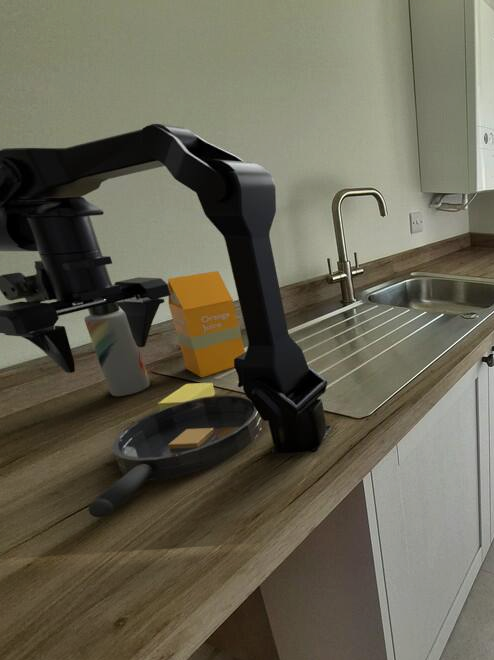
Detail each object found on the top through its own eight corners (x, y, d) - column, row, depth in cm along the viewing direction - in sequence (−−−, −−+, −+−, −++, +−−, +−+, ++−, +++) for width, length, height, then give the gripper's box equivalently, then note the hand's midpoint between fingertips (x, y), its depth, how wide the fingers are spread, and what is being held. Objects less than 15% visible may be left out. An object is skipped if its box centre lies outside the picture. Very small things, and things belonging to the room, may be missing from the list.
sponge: (190, 398, 75) (186, 383, 74) (216, 397, 75) (212, 382, 74) (162, 419, 68) (157, 403, 67) (190, 417, 68) (186, 402, 67)
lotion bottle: (146, 379, 82) (115, 282, 76) (153, 388, 78) (121, 287, 72) (108, 390, 78) (71, 288, 71) (113, 400, 74) (76, 293, 68)
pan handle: (159, 474, 53) (154, 460, 52) (107, 521, 46) (101, 505, 45) (141, 475, 53) (136, 461, 52) (86, 522, 46) (79, 506, 45)
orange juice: (186, 368, 87) (159, 276, 80) (231, 354, 94) (210, 269, 87) (201, 377, 83) (175, 281, 76) (248, 362, 90) (227, 273, 83)
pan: (282, 410, 70) (278, 392, 69) (222, 478, 54) (216, 456, 53) (177, 415, 69) (171, 396, 68) (84, 486, 53) (74, 463, 52)
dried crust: (214, 432, 64) (213, 427, 63) (198, 447, 60) (196, 443, 59) (187, 433, 63) (186, 428, 63) (169, 449, 59) (167, 444, 59)
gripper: (101, 241, 65) (131, 333, 70) (-80, 262, 47) (-23, 383, 52) (159, 242, 63) (185, 337, 68) (-9, 265, 45) (44, 390, 50)
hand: (108, 358), depth 59 cm, fingers open, 9 cm apart
